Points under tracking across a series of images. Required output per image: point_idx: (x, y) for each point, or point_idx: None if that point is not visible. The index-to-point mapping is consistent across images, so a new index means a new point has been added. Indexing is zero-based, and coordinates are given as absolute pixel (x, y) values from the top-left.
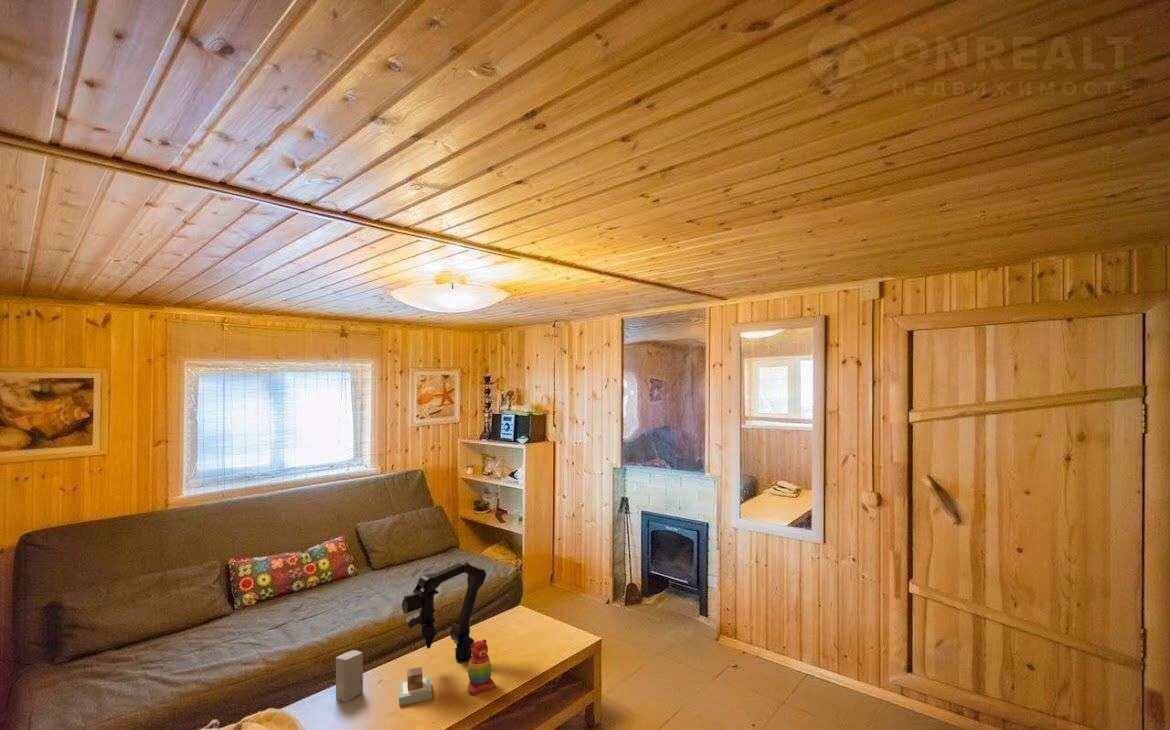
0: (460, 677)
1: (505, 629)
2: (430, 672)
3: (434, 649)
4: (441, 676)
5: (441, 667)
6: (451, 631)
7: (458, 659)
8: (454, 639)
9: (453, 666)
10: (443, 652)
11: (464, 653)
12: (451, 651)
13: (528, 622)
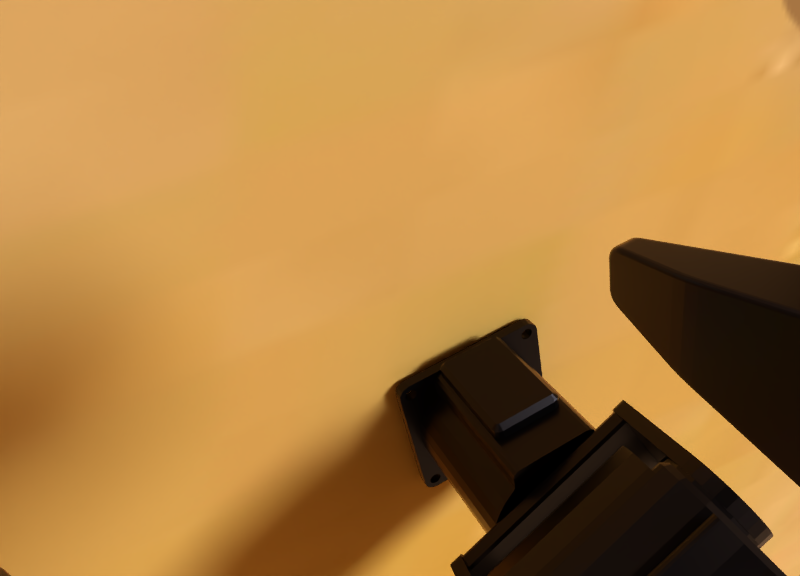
0: (77, 538)
1: (767, 481)
2: (204, 149)
3: (742, 24)
4: (91, 336)
5: (325, 250)
6: (710, 558)
7: (436, 387)
8: (570, 546)
9: (330, 371)
10: (644, 154)
11: (455, 484)
12: (633, 232)
13: (777, 554)
